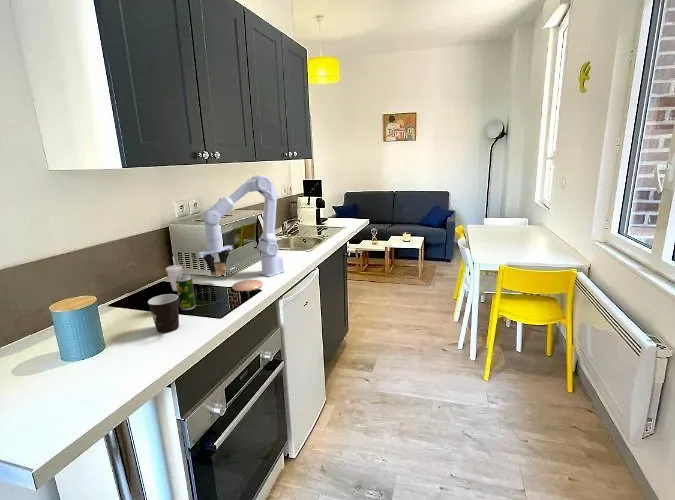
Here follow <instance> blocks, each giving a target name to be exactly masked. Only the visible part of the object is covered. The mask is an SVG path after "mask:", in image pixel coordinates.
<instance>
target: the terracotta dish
mask: <svg viewBox="0 0 675 500" xmlns="http://www.w3.org/2000/svg"><path fill="white" fill-rule="evenodd" d="M262 287H263V281H262V280H260V279H259V280H258V279H245V280H240V281H236V282H235V283H233V284H232V287H231V288H232V290H233V291H235V292H240V291H241V292H243V291H246V292H252V290H253V291H255V290H258V289H260V288H262ZM241 292H240V293H241ZM243 293H244V292H243Z"/></svg>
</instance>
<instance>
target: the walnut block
mask: <svg viewBox="0 0 675 500" xmlns="http://www.w3.org/2000/svg"><path fill="white" fill-rule="evenodd" d="M214 268H215V272H211V271H210V275H212V276H213V277H214V276H215V277H219V276H223V275H226V274H227V269H226V266H225V263H222V262H220V261H217V262H214Z"/></svg>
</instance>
